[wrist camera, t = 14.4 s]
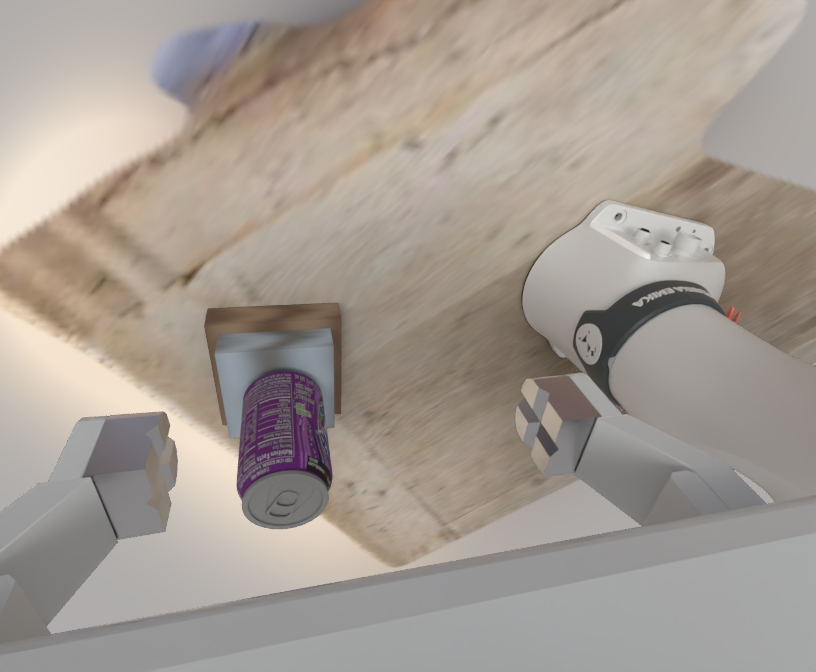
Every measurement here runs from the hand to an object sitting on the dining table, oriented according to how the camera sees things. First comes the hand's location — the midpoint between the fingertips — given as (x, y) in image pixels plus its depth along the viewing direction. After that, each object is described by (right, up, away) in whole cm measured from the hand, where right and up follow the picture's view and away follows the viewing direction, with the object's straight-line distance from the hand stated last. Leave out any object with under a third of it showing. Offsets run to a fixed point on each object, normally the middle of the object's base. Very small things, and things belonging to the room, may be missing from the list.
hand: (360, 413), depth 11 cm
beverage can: (-11, -4, +33) cm, 35 cm away
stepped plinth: (-12, 0, +38) cm, 40 cm away
